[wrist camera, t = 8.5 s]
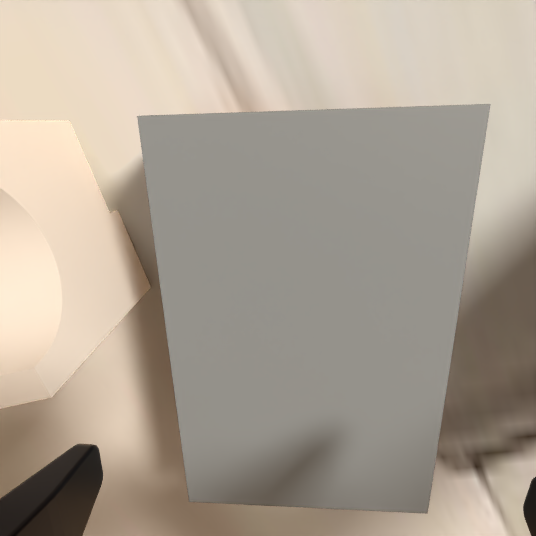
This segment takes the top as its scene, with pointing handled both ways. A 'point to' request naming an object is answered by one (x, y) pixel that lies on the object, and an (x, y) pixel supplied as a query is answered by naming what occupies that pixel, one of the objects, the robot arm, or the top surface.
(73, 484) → the robot arm
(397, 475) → the slate slab
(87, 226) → the bracket
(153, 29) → the top surface
